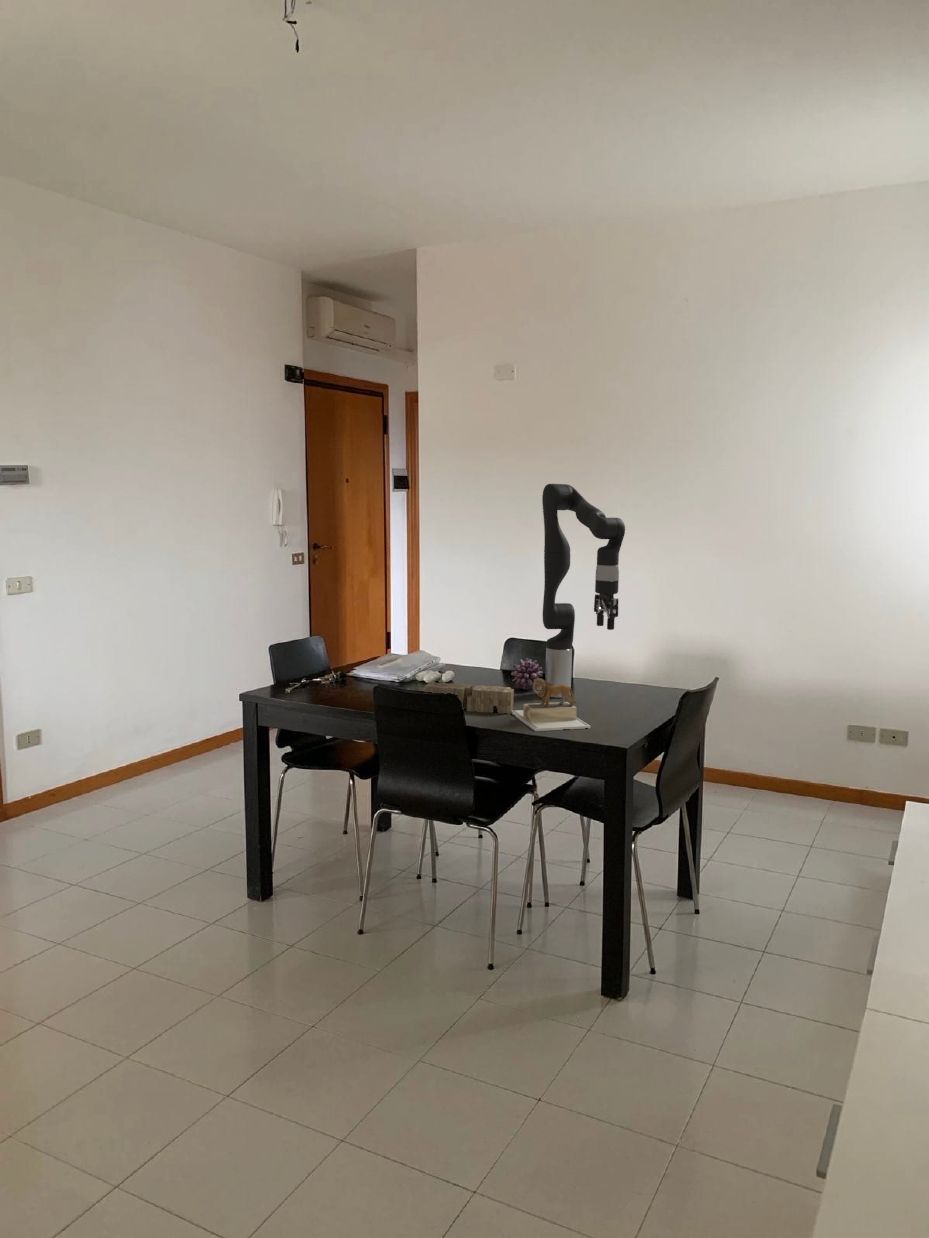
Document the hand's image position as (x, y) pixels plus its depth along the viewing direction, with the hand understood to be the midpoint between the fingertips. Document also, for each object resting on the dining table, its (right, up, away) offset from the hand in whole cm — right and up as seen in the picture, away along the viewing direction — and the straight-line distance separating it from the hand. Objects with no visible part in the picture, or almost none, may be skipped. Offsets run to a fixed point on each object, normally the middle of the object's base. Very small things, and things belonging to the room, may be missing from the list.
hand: (605, 627), depth 300 cm
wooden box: (-19, -29, -11) cm, 37 cm away
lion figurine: (-18, -25, -12) cm, 33 cm away
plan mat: (-19, -29, -11) cm, 37 cm away
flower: (-23, -23, +36) cm, 49 cm away
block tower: (-45, -28, +4) cm, 53 cm away
